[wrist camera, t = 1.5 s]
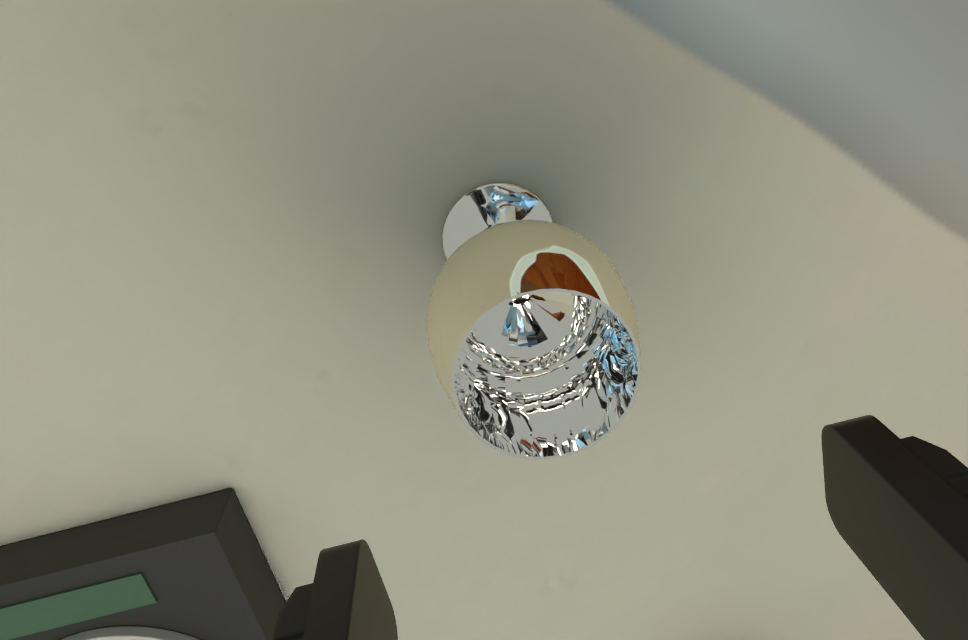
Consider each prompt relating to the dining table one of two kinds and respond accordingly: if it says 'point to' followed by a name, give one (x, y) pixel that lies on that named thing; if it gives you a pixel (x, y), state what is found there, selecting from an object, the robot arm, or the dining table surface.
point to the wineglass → (530, 328)
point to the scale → (143, 578)
